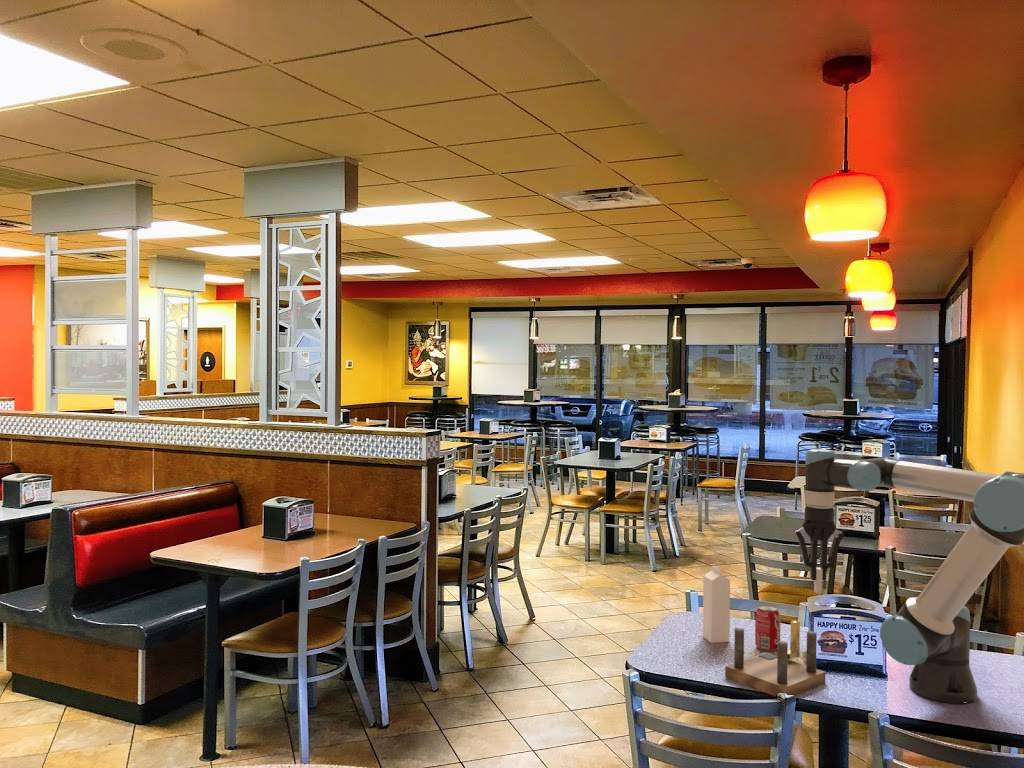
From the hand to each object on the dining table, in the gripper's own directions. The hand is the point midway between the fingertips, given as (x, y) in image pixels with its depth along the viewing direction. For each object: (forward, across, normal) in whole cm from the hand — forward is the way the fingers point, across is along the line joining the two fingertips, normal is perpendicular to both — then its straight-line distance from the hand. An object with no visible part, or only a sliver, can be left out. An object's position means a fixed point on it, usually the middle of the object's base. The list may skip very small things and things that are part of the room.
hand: (818, 591), depth 214 cm
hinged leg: (+18, +7, +2) cm, 19 cm away
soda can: (+22, +10, -15) cm, 28 cm away
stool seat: (+21, +13, +10) cm, 27 cm away
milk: (+22, +24, -21) cm, 39 cm away
